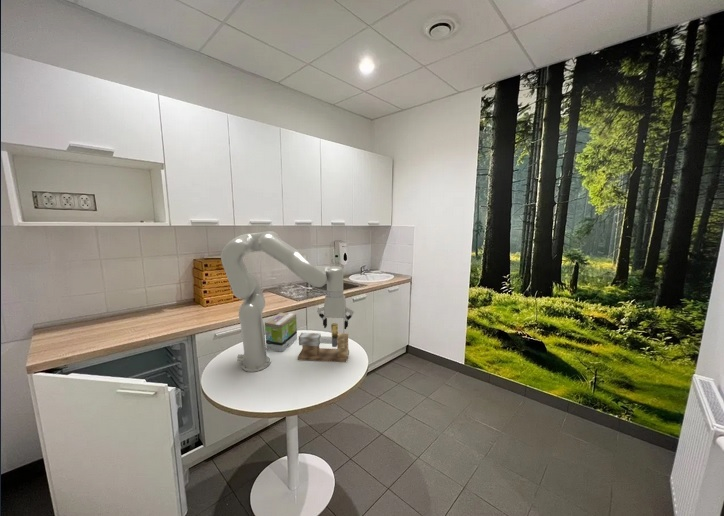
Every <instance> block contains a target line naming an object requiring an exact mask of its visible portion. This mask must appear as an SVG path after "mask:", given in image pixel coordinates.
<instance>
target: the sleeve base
mask: <svg viewBox="0 0 724 516" xmlns="http://www.w3.org/2000/svg"><path fill="white" fill-rule="evenodd" d="M320 336H322V334H321V333H319V332H317V333H316V332H301V333H300V334H299V336H298V344H299V345H298V346H302V348H301V350H300V352H299V353H298V355H297V361H311V362H312V361H314V362H315V361H316V362H317V361H318V362H335V363H337V362H338V363H347V362H346V361H348V357H349V355H350V354H349V353H350V349H349V348H348V351H349V352H348V355H347V357H338V354H337V348H323V347H322V348H321V347H320V345H321V343H319V337H320Z"/></svg>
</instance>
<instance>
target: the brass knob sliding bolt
mask: <svg viewBox="0 0 724 516" xmlns="http://www.w3.org/2000/svg"><path fill="white" fill-rule="evenodd" d="M338 324H339V323H336V322H335V323H331V325H330V327H331V336H322V335H321V336H320V337H319V343H320V344H329V345H330V344H331V346H332V348H337V337H338V334H339V333H338V332H339V329H338V328H339V327H338V326H339V325H338Z"/></svg>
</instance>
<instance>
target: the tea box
mask: <svg viewBox="0 0 724 516" xmlns="http://www.w3.org/2000/svg"><path fill="white" fill-rule="evenodd" d="M297 329H298V328H297V313H289V312H288V313H287V312H281V311H280V312H278V314H276V315H275V316H273V317H271V318H270V319H268V320H267V321H266V322H264V333H265V344H266V350H269V351H277V352H281V353H282V352H284V351H285V350H287V349H288V348H289V347H290V346H291V344H293V343H294V342H295V341H296V340H297V339H298V330H297Z"/></svg>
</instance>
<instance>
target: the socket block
mask: <svg viewBox="0 0 724 516" xmlns="http://www.w3.org/2000/svg"><path fill="white" fill-rule="evenodd" d="M336 349H337V354H338V357H347V355H348V352H349V353H350V350H349V351H348V349H349V333H344V332H343V333H341V332H339V333H338V337H337V347H336ZM348 356H349V355H348Z"/></svg>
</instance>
